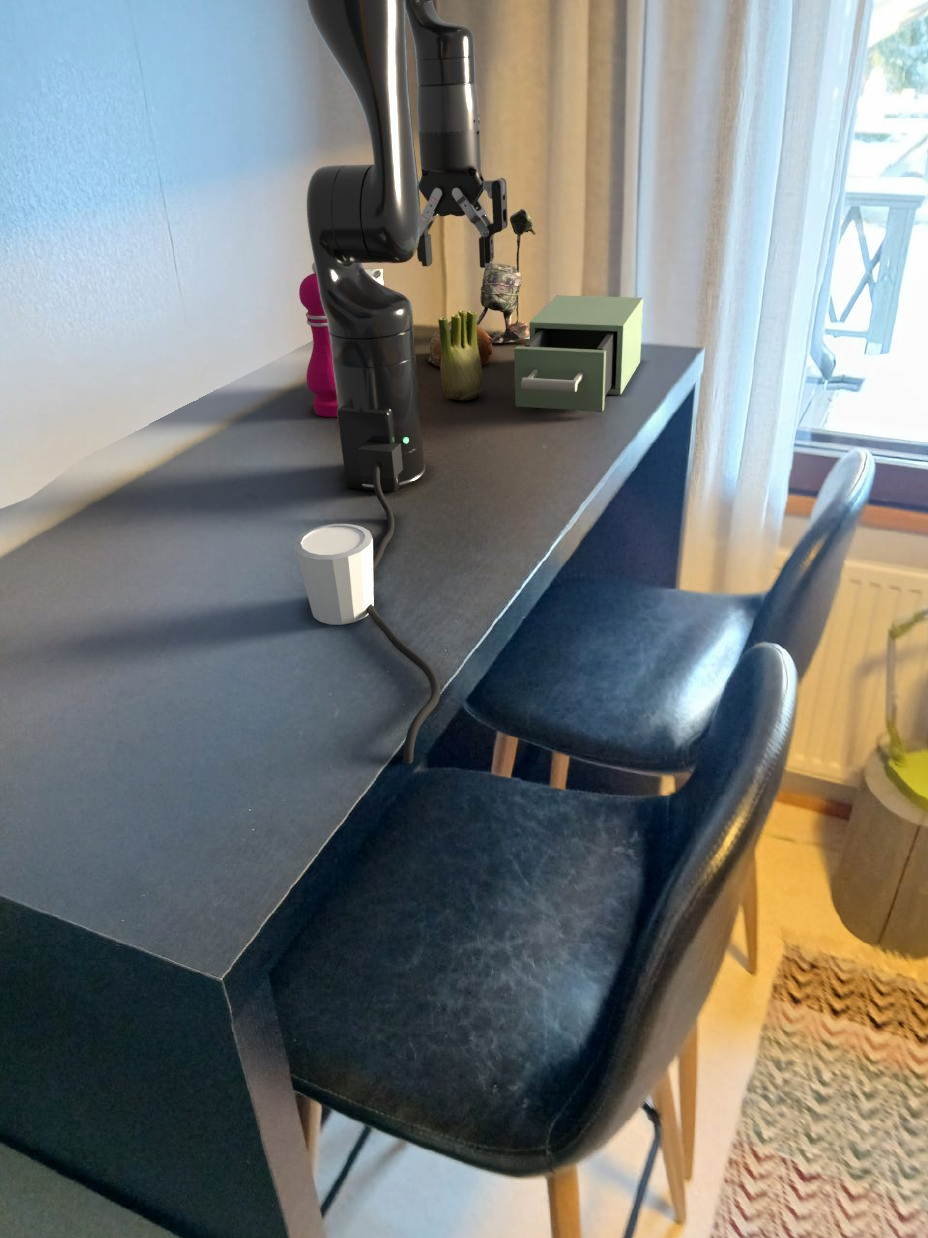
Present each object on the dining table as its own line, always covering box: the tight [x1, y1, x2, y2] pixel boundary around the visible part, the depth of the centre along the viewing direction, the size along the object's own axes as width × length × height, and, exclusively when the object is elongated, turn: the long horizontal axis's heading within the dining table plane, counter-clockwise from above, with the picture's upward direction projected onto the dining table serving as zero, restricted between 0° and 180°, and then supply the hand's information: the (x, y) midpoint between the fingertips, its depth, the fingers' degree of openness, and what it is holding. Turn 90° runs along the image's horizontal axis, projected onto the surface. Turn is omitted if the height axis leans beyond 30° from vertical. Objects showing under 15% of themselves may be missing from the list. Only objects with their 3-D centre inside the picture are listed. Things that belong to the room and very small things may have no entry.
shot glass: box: [293, 523, 375, 626], centre depth 83 cm, size 7×7×7 cm
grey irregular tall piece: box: [477, 208, 536, 344], centre depth 152 cm, size 8×11×20 cm
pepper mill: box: [298, 262, 338, 418], centre depth 126 cm, size 7×7×20 cm
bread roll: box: [428, 320, 494, 368], centre depth 147 cm, size 10×10×8 cm
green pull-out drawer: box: [513, 328, 618, 413], centre depth 126 cm, size 20×12×8 cm, turn 161°
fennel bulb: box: [437, 310, 483, 401], centre depth 129 cm, size 6×5×12 cm
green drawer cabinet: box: [528, 294, 644, 396], centre depth 136 cm, size 16×13×10 cm
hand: (456, 265), depth 123 cm, fingers open, 7 cm apart
